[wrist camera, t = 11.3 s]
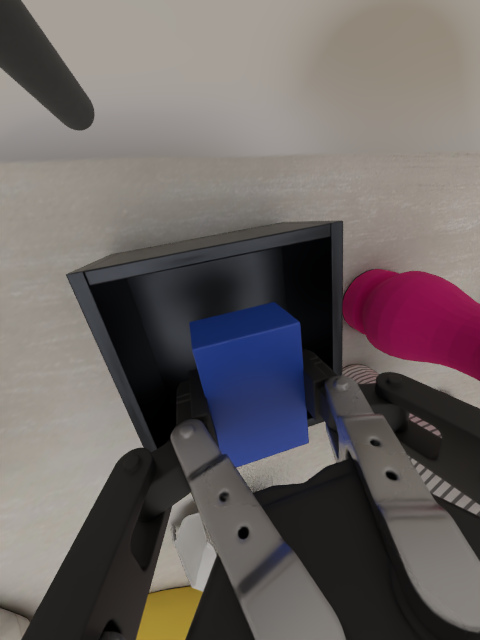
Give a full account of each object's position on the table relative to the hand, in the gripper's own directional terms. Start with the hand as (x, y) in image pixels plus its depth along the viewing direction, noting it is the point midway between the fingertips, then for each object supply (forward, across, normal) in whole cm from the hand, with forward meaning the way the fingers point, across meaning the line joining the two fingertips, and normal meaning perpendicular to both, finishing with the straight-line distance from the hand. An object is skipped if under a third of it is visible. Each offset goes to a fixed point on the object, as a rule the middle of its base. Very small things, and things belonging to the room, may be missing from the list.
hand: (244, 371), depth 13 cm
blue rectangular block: (0, 0, 0) cm, 0 cm away
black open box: (+9, 0, 0) cm, 9 cm away
